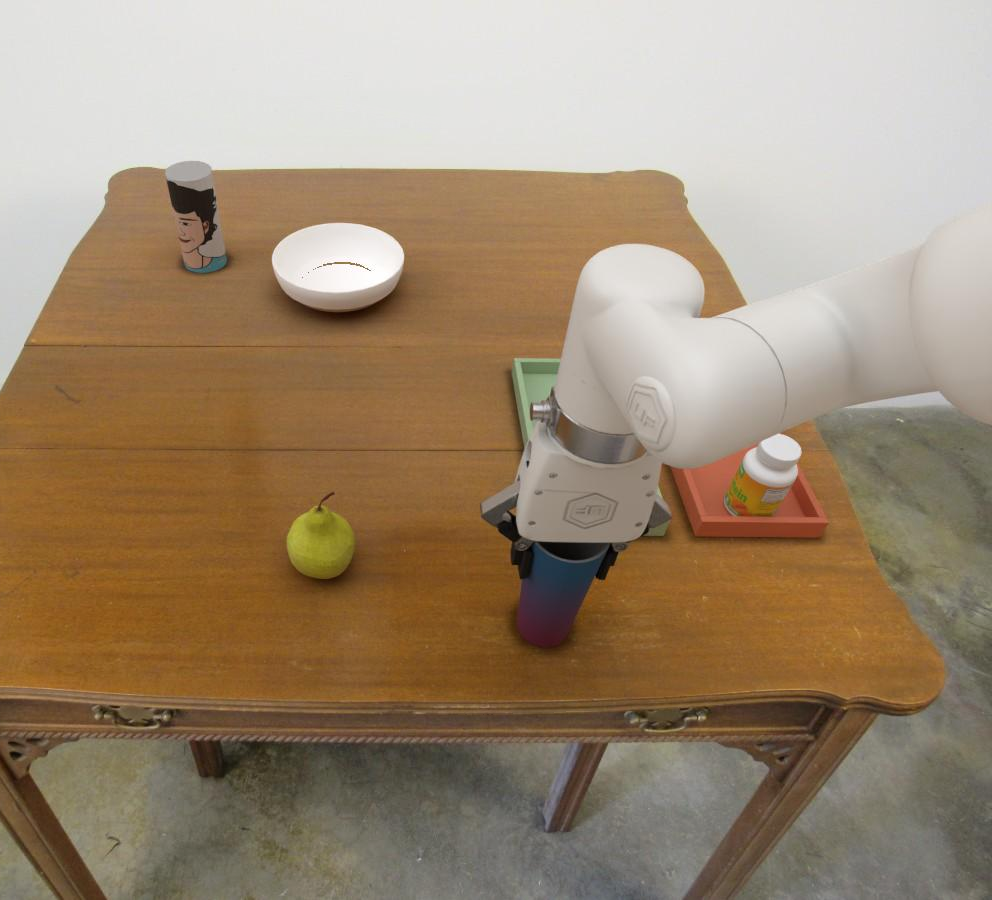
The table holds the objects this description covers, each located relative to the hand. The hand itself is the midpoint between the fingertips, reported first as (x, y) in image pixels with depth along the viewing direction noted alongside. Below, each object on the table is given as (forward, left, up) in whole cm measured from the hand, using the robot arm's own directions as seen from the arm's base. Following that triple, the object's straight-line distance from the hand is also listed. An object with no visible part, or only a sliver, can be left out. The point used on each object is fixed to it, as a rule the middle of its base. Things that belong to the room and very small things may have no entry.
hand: (559, 565), depth 65 cm
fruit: (+7, +22, -10) cm, 25 cm away
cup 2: (0, 0, -10) cm, 10 cm away
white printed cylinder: (+66, +45, -10) cm, 81 cm away
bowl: (+58, +23, -10) cm, 63 cm away
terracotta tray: (+25, -25, -10) cm, 37 cm away
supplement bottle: (+15, -25, -10) cm, 31 cm away
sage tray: (+25, -8, -10) cm, 28 cm away
